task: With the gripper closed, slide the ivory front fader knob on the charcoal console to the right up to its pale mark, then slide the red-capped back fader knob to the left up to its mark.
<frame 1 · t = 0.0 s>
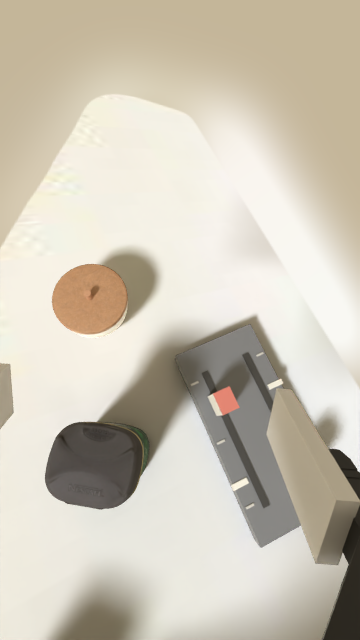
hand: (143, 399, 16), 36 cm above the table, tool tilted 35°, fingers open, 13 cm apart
console: (249, 425, 51), on the table
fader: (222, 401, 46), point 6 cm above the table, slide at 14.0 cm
coffee jar: (116, 450, 49), on the table
lidded jar: (99, 314, 55), on the table
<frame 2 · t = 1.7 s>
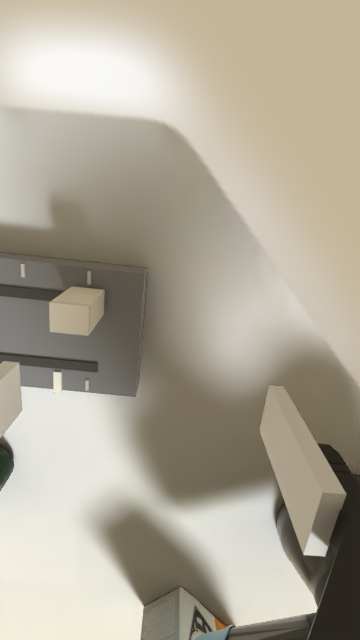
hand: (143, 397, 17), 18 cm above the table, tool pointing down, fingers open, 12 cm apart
console: (10, 315, 35), on the table
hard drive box: (192, 620, 51), on the table
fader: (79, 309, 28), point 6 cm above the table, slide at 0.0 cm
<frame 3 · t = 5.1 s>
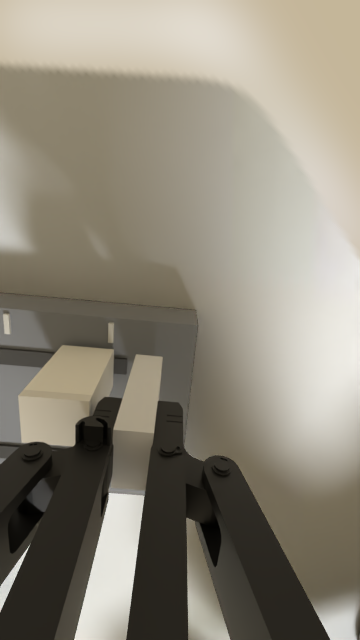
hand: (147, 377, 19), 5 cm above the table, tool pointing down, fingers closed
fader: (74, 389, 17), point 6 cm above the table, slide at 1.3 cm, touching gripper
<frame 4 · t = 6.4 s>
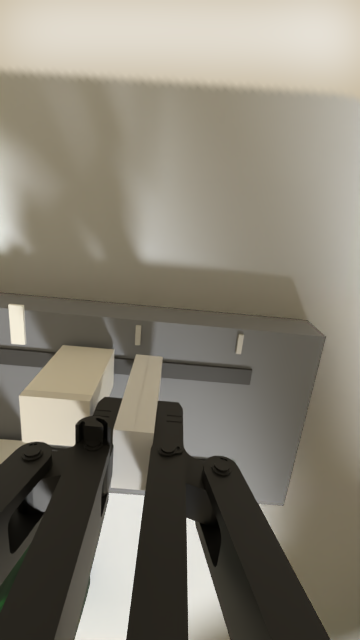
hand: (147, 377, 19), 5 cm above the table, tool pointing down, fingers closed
console: (98, 387, 24), on the table
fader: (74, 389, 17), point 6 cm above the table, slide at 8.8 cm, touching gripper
coffee jar: (41, 572, 30), on the table
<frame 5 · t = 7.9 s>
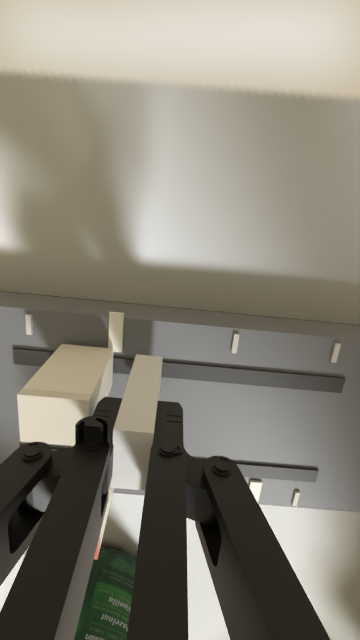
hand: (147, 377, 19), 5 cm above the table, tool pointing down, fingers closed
console: (176, 393, 24), on the table
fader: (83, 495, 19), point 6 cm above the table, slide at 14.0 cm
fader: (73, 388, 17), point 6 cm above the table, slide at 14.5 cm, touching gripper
coffee jar: (101, 576, 30), on the table
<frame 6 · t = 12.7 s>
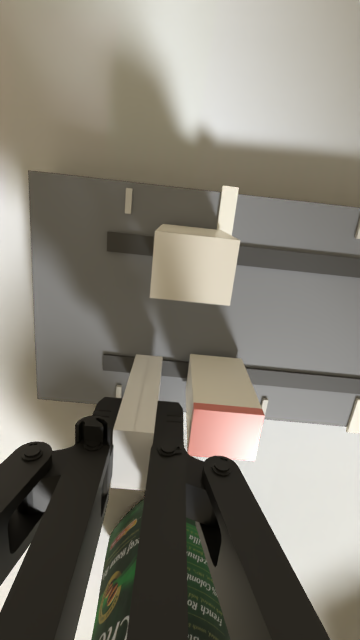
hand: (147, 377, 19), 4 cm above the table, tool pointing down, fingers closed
console: (268, 307, 22), on the table
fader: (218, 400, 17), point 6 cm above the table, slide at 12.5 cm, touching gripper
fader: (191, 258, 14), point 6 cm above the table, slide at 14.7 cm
coffee jar: (165, 524, 28), on the table
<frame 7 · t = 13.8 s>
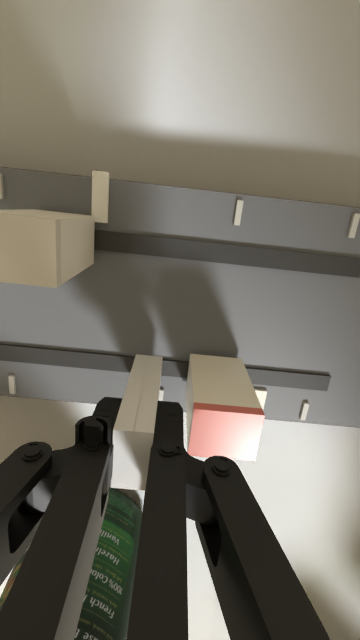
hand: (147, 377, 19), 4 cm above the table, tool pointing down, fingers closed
console: (170, 297, 21), on the table
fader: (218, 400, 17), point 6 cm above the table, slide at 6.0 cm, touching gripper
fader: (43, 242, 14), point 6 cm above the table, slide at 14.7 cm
coffee jar: (89, 518, 28), on the table
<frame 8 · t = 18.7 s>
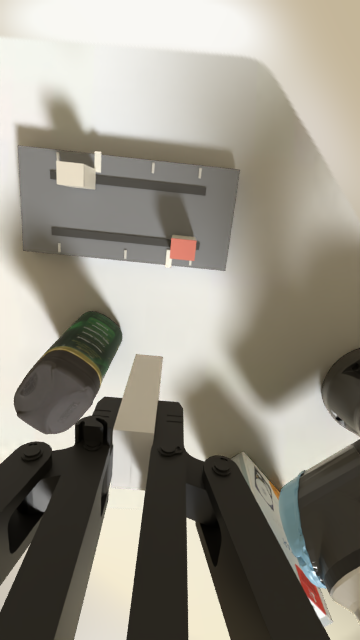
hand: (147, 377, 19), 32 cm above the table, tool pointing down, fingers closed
console: (130, 211, 46), on the table
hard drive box: (249, 484, 63), on the table
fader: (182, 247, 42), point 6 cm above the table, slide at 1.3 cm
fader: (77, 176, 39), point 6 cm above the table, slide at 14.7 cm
coffee jar: (93, 338, 53), on the table
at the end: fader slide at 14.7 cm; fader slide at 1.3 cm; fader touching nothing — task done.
